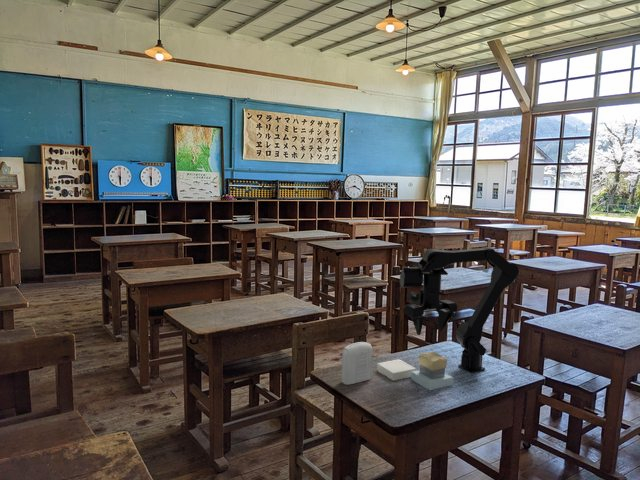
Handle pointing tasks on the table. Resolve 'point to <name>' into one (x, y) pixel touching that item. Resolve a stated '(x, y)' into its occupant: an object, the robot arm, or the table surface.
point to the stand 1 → (395, 369)
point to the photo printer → (356, 363)
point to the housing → (432, 365)
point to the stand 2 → (431, 380)
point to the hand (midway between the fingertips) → (429, 333)
